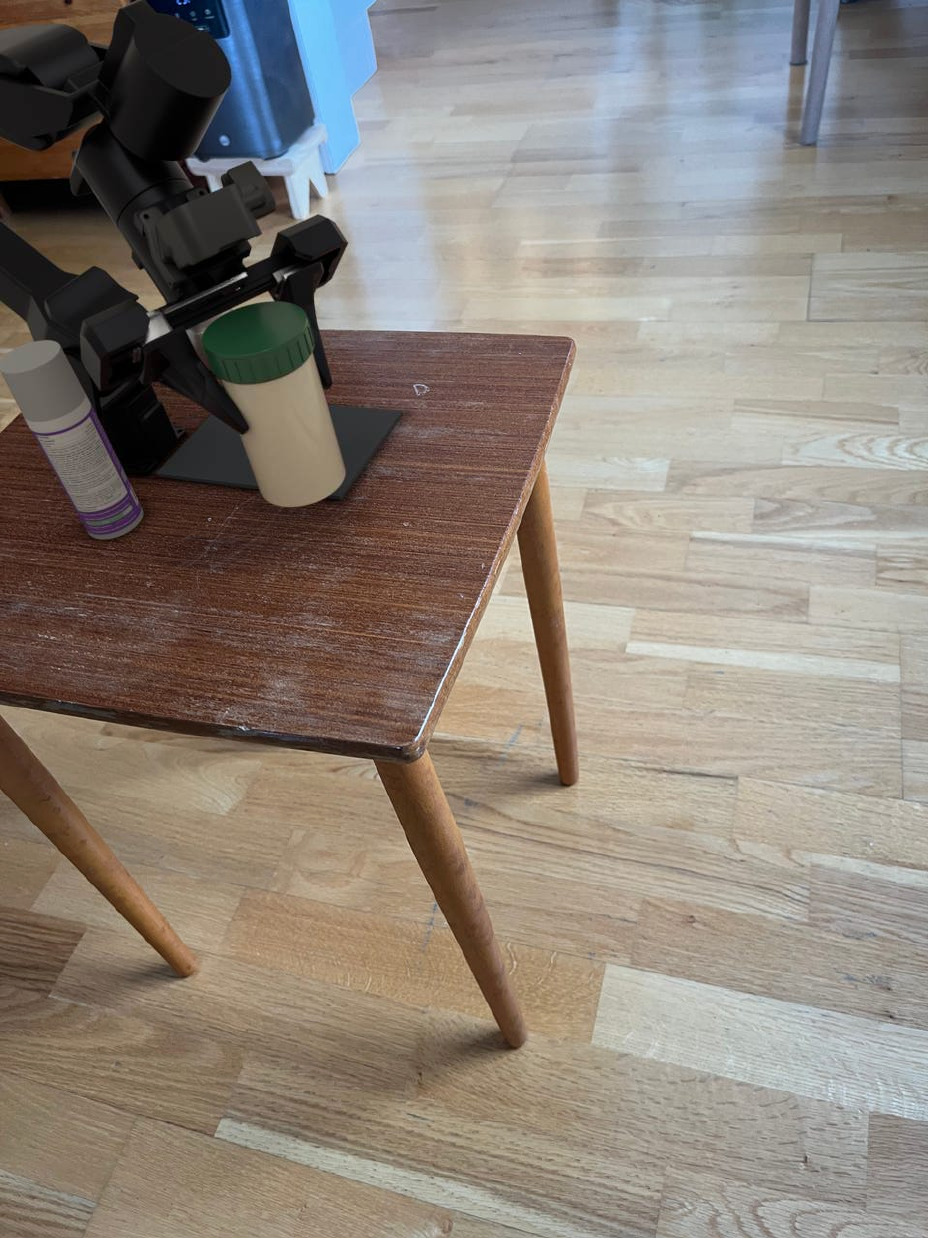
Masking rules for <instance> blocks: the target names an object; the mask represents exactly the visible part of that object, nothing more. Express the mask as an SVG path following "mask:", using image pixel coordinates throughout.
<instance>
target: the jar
mask: <svg viewBox="0 0 928 1238" xmlns="http://www.w3.org/2000/svg"><path fill="white" fill-rule="evenodd" d="M218 380H219V384H220V385H221V386H222V388H223V389H224V390H225V392H226V393H227V394H228V395H229V397H230V398H231V399H232V401H233V402H234V403H235V405H236V406H237V407H238V409H239V411H240V412H241V414H242V416H243V417H244V419H245V421H246V422H247V424H248V426H249V430H248V433H246V434H244V435H242V434H240V433H239V435H240V438H241V440H242V443H243V446H244V449H245V451H246V454H247V457H248V460H249V462H250V465H251V468H252V471H253V473H254V476H255V479H256V482H257V484H258V487H259V490H258V491H259V492H260V495H261V496H262V498H263V499H264V500H265V501H266V502H268V503H269V504H271V505H274V506H278V507H282V508H298V507H305V506H310V505H311V504H315V503H318V502H321V501H322V500H324V499H327V498H326V497H328V496H329V495H331V494H332V493H333V492H335V491H336V490H337V489H338V488H339V487H340V485H341V484H342V482H343V480H344V478H345V474H346V470H345V465H344V462H343V458H342V455H341V451H340V447H339V444H338V440H337V437H336V433H335V429H334V426H333V422H332V419H331V415H330V411H329V408H328V405H329V404H328V401H327V397H326V394H325V390H324V389H323V386H322V383H321V379H320V375H319V372H318V368H317V365H316V361H315V357H314V354H313V352H312V354H311V356H310V357H309V358H308V359H307V360H306V361H305V362H304V363H303V364H302V365H301V366H299V367H298V368H296V369H295V370H293V371H291V372H289V373H287V374H285V375H283V376H280V377H277V378H274V379H271V380H267V381H263V382H257V383H246V384H241V383H231V382H227V381H224V380H222V379H220V378H218Z"/></svg>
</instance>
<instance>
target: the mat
mask: <svg viewBox="0 0 928 1238" xmlns="http://www.w3.org/2000/svg"><path fill="white" fill-rule="evenodd" d="M328 408H329V411H330V415H331V419H332V422H333V426H334V429H335V433H336V437H337V440H338V444H339V447H340V451H341V455H342V458H343V462H344V465H345V470H346V474H345V478H344V480H343V482H342V484H341V485H340V487H339V488H338V489H337V490H336V491H335V492H333V493H332V494H331V495H329V496H328V497H326V498H325V499H330V500H338V501H342V500H343V499H344V497H345V496H346V495H347V493H348V492H349V490H350V488H351V487H352V486H353V485H354V483H355V482H356V480H358V478H359V477H360V475H361V474H362V472H363V471H364V470H365V468H366V467H367V466H368V464H369V463H370V461H371V460H372V458H373V457H374V455H375V454H376V453H377V451H378V450H379V449H380V447H381V446H382V444H383V443H384V442H385V440H386V439H387V437H388V436H389V435H390V433H391V432H392V430H393V429H395V426H396V425H397V423H398V422H399V421H400V419H401V418H402V417H403V414H404V413H403V411H402V410H395V409H383V408H373V407H372V408H371V407H360V406H348V405H338V404H328ZM155 474H156V477H158V478H165V479H172V480H180V481H187V482H196V483H203V484H210V485H211V484H213V485H218V486H219V485H220V486H226V487H235V488H236V487H237V488H241V489H242V488H243V489H244V488H245V489H251V490H258V491H260V490H259V487H258V484H257V482H256V479H255V476H254V473H253V471H252V468H251V465H250V462H249V460H248V457H247V454H246V451H245V449H244V446H243V443H242V440H241V438H240V435H239V432H237V431H236V430H234V429H233V428H231V427H230V426H228V425H227V424H226V423H224V422H223V421H221V420H220V419H218V418H217V417H215V416H214V415H212V414H211V413H210V415H209V416H208V417H207V418H206V419H205V420H204V421H203V422H202V423H201V425H200V426H199V427H198V428H197V429H196V430H195V431H194V432H193V433H192V434H191V435H190V436H189V437H188V438H187V440H186V441H184V443H183V444H181V446H179V448H178V449H177V450H176V451H175V452H174V453H173V454H172V455H171V457H169V458H168V459H167V460H166V462H165V463H163V465H162V466H161V467H160V468H158V470H157V471H156V472H155Z"/></svg>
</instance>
